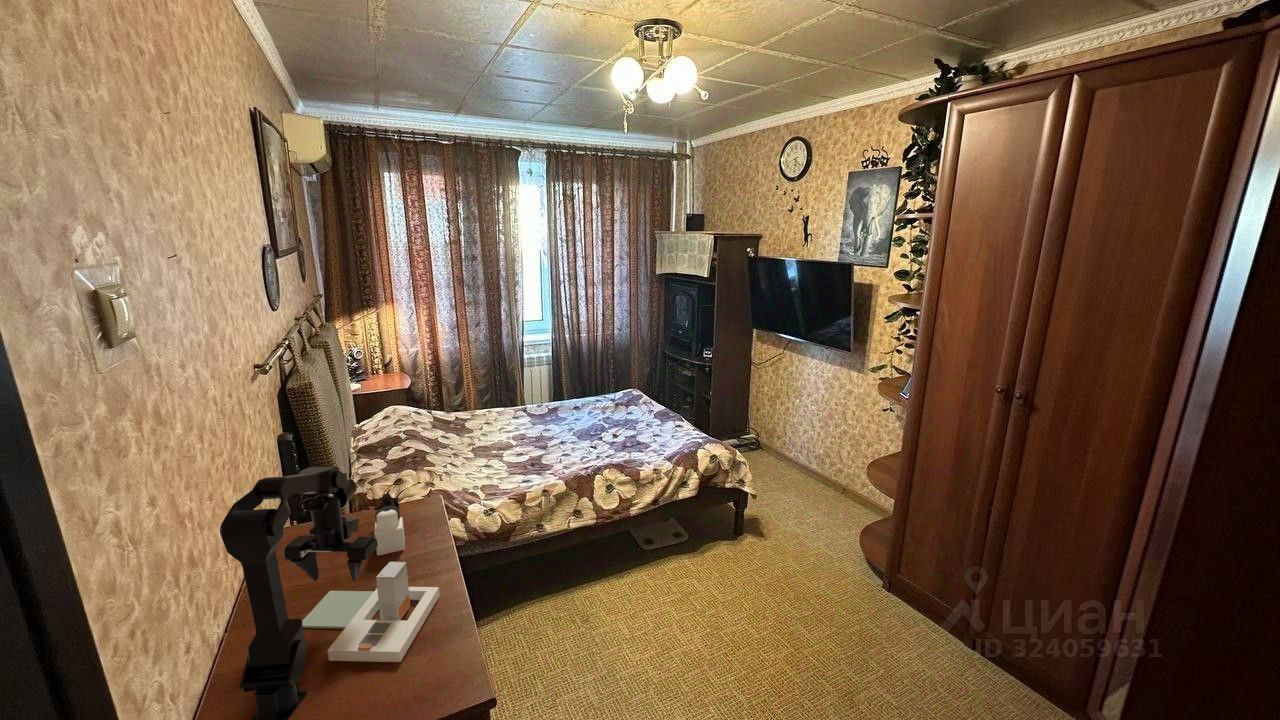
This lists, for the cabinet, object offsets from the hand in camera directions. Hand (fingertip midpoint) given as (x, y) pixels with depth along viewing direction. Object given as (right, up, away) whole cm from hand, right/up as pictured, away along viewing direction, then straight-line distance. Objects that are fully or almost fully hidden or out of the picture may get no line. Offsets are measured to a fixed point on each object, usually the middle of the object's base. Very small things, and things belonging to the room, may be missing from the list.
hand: (335, 580), depth 120 cm
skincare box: (+14, -8, 0) cm, 16 cm away
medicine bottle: (0, -2, +27) cm, 27 cm away
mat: (0, -8, +2) cm, 8 cm away
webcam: (-6, 0, +39) cm, 40 cm away
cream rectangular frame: (+14, -9, -3) cm, 17 cm away
